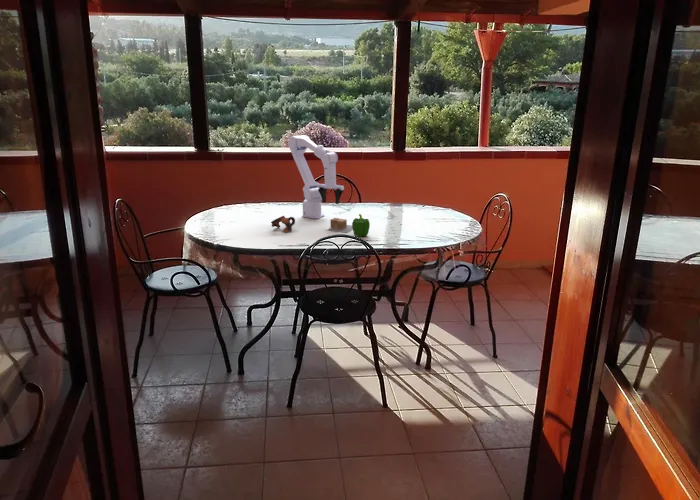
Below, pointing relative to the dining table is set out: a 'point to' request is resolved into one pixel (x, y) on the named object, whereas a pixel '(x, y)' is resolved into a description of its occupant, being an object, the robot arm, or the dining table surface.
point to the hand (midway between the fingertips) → (330, 202)
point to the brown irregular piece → (284, 221)
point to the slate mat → (345, 230)
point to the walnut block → (338, 223)
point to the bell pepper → (360, 226)
